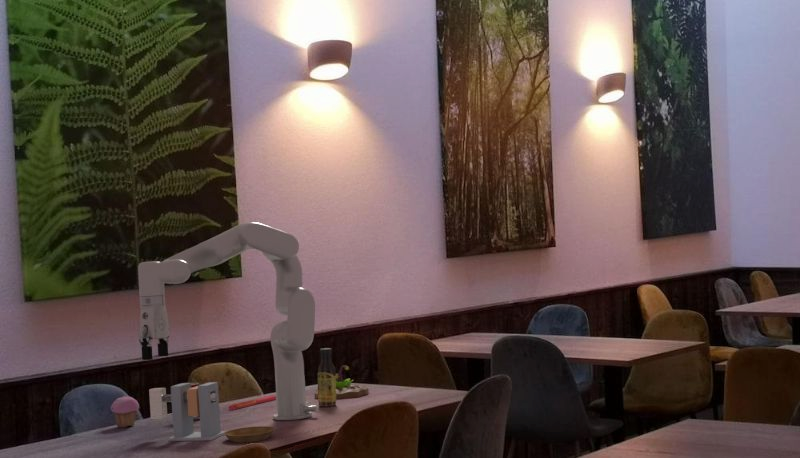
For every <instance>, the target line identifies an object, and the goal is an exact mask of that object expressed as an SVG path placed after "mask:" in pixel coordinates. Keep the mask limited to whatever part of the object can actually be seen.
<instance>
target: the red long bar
mask: <svg viewBox="0 0 800 458" xmlns="http://www.w3.org/2000/svg"><path fill="white" fill-rule="evenodd" d="M276 400H277V397H276V395H275V394H271V395H268V396H263V397H258V398H255V399H250V400H245V401H241V402H237V403H233V404H232V405H228V406H227V407H228V410H229V411H233V410H237V409H238V410H239V409H242V408H245V407H250V406H255V405H259V404H263V403H268V402H271V401H276Z"/></svg>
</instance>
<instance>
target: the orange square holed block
mask: <svg viewBox="0 0 800 458" xmlns="http://www.w3.org/2000/svg"><path fill="white" fill-rule="evenodd" d="M187 400H188V416H199V415H200V412H199V395H198V386H196V387H193V388H190V389H187Z"/></svg>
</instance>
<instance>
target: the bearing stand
mask: <svg viewBox="0 0 800 458" xmlns="http://www.w3.org/2000/svg"><path fill="white" fill-rule="evenodd" d="M191 383H192V382H182V383H178V384H175V385H172V386H170V395H171V399H172V402H171V411H172V413H171V415H172V428H173V436H171V437H168V442H175V441H176V442H178V441H179V442H180V441H181V442H187V441H189V442H192V441H213V440H215V439H218V438H220V437H223V436H225V434H224V433H225V432H227V430H225V431H223V430H221V427H222V426H221V416H220V415H221V414H220V413H221V412H220V399H219V397H220V396H219V382H218V381H214V382H211V381H209V382H205V383H203V384H198V385H199V386H198V395H199V412H200V419H199V422H200V423H199V427H200V431H195V428H194V427H195V425H194V420H193V416H188V401H187V402H184V401H183V394H187V389H190V388H191ZM213 393H215V394H216V400H215V401H211V396H210V394H213Z"/></svg>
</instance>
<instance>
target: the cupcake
mask: <svg viewBox="0 0 800 458" xmlns="http://www.w3.org/2000/svg"><path fill="white" fill-rule="evenodd" d="M139 409H140V404H139V402H138V400H137V399H135V398H134V397H132V396H126V395H124V396H121V397H118V398H117V399H115V400H114V401H113V403H112V404H111V406H110V410H111V411H112V413H114V417H115V425H116V426H117V428H126V427H129V426H130V427H131V426H134V425H135V422H136V417H137V412H138V410H139Z"/></svg>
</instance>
